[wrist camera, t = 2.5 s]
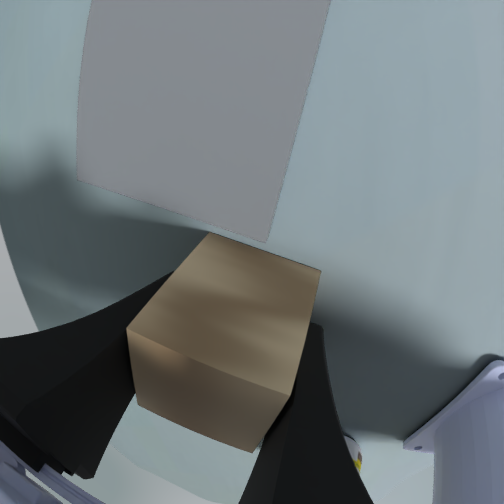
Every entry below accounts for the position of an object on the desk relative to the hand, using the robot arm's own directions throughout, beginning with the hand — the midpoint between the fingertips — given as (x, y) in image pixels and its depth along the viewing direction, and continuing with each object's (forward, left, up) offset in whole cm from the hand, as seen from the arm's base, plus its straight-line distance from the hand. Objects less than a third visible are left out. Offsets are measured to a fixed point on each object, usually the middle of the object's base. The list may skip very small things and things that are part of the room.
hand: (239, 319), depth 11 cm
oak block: (0, 0, -1) cm, 1 cm away
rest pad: (+4, -6, -1) cm, 8 cm away
